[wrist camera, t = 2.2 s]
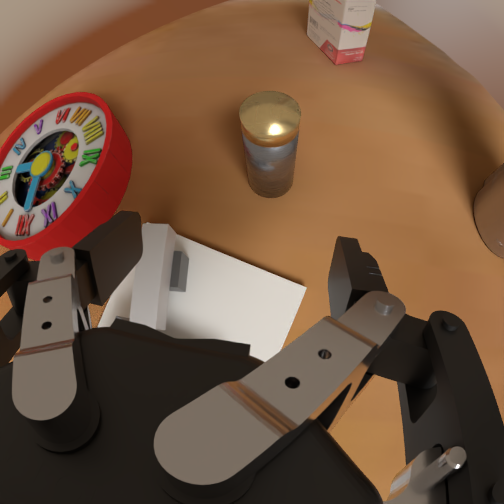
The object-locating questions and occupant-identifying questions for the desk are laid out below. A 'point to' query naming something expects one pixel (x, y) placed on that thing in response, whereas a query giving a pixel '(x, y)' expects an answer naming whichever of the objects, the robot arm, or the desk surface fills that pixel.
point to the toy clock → (62, 174)
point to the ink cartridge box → (340, 27)
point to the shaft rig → (204, 295)
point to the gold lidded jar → (270, 141)
